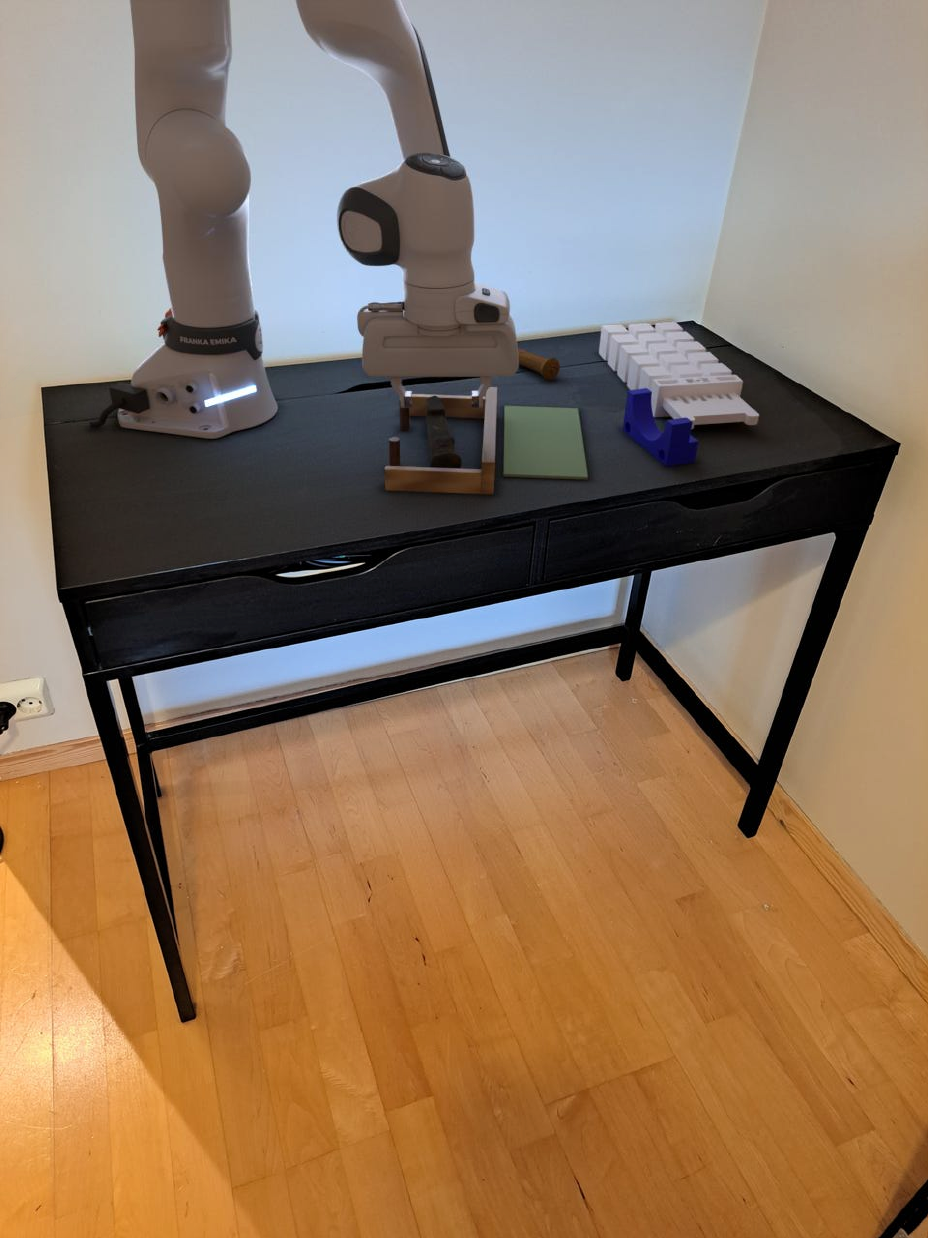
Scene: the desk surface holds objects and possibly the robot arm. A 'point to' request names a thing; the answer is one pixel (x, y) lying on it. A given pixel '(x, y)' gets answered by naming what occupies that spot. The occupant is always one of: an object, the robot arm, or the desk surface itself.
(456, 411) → the tool rack
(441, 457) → the hand tool
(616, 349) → the organizer
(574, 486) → the desk surface
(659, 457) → the cable clip
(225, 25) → the robot arm
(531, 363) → the primitive tool
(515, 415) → the mat
